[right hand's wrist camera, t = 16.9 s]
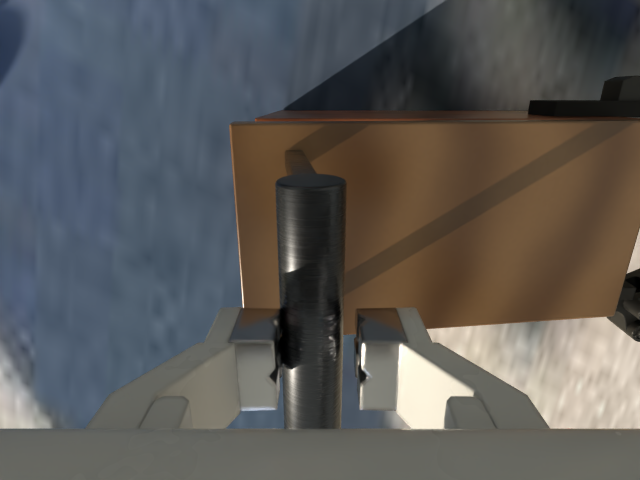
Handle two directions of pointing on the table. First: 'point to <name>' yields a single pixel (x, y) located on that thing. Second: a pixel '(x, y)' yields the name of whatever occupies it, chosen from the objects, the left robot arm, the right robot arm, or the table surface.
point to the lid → (427, 229)
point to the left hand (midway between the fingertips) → (524, 202)
